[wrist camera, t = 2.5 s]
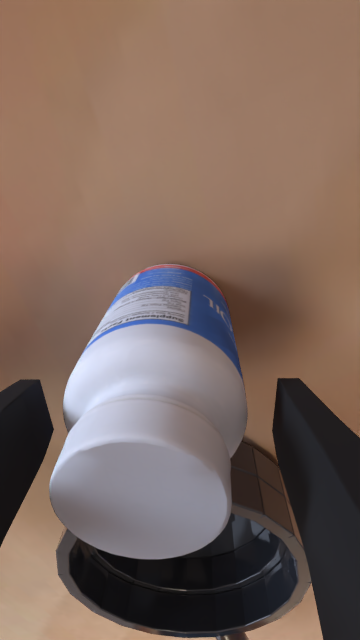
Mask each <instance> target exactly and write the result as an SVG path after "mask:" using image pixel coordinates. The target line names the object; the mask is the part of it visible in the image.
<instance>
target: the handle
mask: <svg viewBox="0 0 360 640" xmlns="http://www.w3.org/2000/svg"><path fill="white" fill-rule="evenodd" d="M216 639H217V640H249V639H248V638H247V636H246V634H245V632H241V633H236V634H231V635H226V636H219V637H216Z"/></svg>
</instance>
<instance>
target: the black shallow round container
mask: <svg viewBox="0 0 360 640" xmlns="http://www.w3.org/2000/svg"><path fill="white" fill-rule="evenodd" d="M230 461H231V472H230V476H231V495H232V507H231V514H230V517H229V520H228V523H227V525H226V526H225V528H224V530H223V531H222V532H221V533H220V535H218V536H217V537H216V538H215V539H214V540H213V541H212V542H211V543H209V544H207V545H206V546H204V547H203V548H201V549H199V550H197V551H194V552H191V553H188V554H185V555H182V556H178V557H173V558H166V559H136V558H129V557H124V556H119V555H115V554H111V553H109V552H106V551H103V550H100V549H97V548H96V547H94V546H92V545H90V544H88V543H86V542H84V541H83V540H81V539H80V538H78V537H77V536H75V535H74V534H73V533H72V532H71V531H69V530H68V529H67V528H66V527H64V529H63V532H62V535H61V538H60V541H59V543H58V546H57V549H56V558H57V568H58V575H59V577H60V579H61V580H62V582H63V583H64V585H65V586H66V588H67V589H68V591H69V593H70V594H71V595H72V596H74V597H75V598H76V599H77V600H79V601H80V602H81V603H82V604H84V605H85V606H86V607H87V608H89V609H90V610H91V611H93V612H94V613H96V614H98V615H100V616H103V617H105V618H107V619H109V620H111V621H113V622H115V623H117V624H119V625H121V626H125V627H129V628H132V629H136V630H139V631H143V632H147V633H150V634H156V635H165V636H174V637H182V638H186V637H187V638H196V637H219V636H226V635H231V634H236V633H241V632H246V631H251V630H254V629H256V628H259V627H261V626H264V625H266V624H268V623H271V622H273V621H276V620H278V619H280V618H281V617H283V616H284V615H285V614H286V613H288V612H289V611H290V610H291V609H293V608H294V607H295V606H297V605H298V604H299V603H300V602H301V601H302V599H303V597H304V595H305V593H306V592H307V590H308V588H309V586H310V584H311V577H310V572H309V567H308V563H307V559H306V555H305V551H304V547H303V544H302V540H301V537H300V534H299V531H298V527H297V524H296V521H295V517H294V514H293V511H292V508H291V504H290V501H289V498H288V495H287V491H286V488H285V485H284V481H283V478H282V475H281V471H280V469H279V467H278V466H277V465H276V464H275V463H273V462H272V461H271V460H269V459H268V458H267V457H265V456H264V455H263V454H261V453H260V452H259V451H258V450H256V449H255V448H254V447H251V446H250V445H248V444H245V443H242V442H241V443H240V444H239V446H238V448H237V450H236V451H235V453H234V454H233V456H232V457H231V458H230Z"/></svg>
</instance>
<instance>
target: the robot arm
mask: <svg viewBox="0 0 360 640" xmlns="http://www.w3.org/2000/svg"><path fill="white" fill-rule="evenodd" d="M53 430H54V428H53V425H52V421H51V418H50V414H49V411H48V407H47V404H46V400H45V397H44V393H43V390H42V386H41V383H40V380H19V381H17V382H16V383H14V384H12V385H11V386H9V387H8V388H6V389H5V390H3V391H2V392H0V547H1V544H2V542H3V540H4V538H5V536H6V534H7V532H8V530H9V528H10V526H11V524H12V522H13V520H14V518H15V516H16V514H17V512H18V510H19V508H20V506H21V504H22V502H23V500H24V498H25V496H26V494H27V492H28V490H29V488H30V486H31V484H32V482H33V480H34V478H35V476H36V474H37V472H38V470H39V468H40V466H41V464H42V462H43V459H44V457H45V454H46V451H47V448H48V446H49V443H50V440H51V436H52V433H53ZM272 432H273V438H274V443H275V449H276V455H277V460H278V465H279V468H280V471H281V475H282V478H283V481H284V485H285V488H286V491H287V495H288V498H289V501H290V504H291V508H292V511H293V514H294V517H295V521H296V524H297V527H298V531H299V534H300V537H301V540H302V544H303V547H304V551H305V555H306V559H307V563H308V567H309V572H310V577H311V581H312V586H313V591H314V595H315V600H316V605H317V610H318V615H319V620H320V625H321V630H322V635H323V640H360V438H359V437H358V436H357V435H356V434H355V433H354V432H352V431H351V430H350V429H349V428H348V427H347V426H346V425H345V424H344V423H343V422H342V421H341V420H340V419H339V418H338V417H337V416H336V415H335V414H334V413H333V412H332V411H331V410H330V409H329V408H328V407H327V406H326V405H325V404H324V403H323V402H322V401H321V400H320V399H319V398H318V397H317V396H316V395H315V394H314V393H313V392H312V391H311V390H310V389H309V388H308V387H307V386H306V385H305V384H304V383H303V382H302V381H301V380H300V379H299V378H278V381H277V391H276V400H275V410H274V419H273V429H272Z"/></svg>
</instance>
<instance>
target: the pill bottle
mask: <svg viewBox="0 0 360 640" xmlns="http://www.w3.org/2000/svg"><path fill="white" fill-rule="evenodd" d="M63 415H64V422H65V425H66V428H67V431H68V436H67V438H66V441H65V444H64V446H63V449H62V451H61V453H60V456H59V458H58V460H57V463H56V465H55V468H54V470H53V473H52V476H51V479H50V486H49V493H50V500H51V504H52V506H53V509H54V511H55V513H56V515H57V517H58V518H59V520H60V521H61V522H62V523H63V524H64V526H65V527H66V528H67V529H68V530H69V531H71V532H72V533H73V534H74V535H75V536H77V537H78V538H80V539H81V540H83V541H84V542H86V543H88V544H90V545H92V546H94V547H96V548H97V549H100V550H103V551H106V552H109V553H111V554H115V555H119V556H124V557H129V558H136V559H166V558H173V557H178V556H182V555H185V554H188V553H191V552H194V551H197V550H199V549H201V548H203V547H204V546H206V545H207V544H209V543H211V542H212V541H213V540H214V539H215V538H216V537H217V536H218V535H220V533H221V532H222V531H223V530H224V528H225V526H226V525H227V523H228V520H229V517H230V514H231V507H232V495H231V476H230V472H231V461H230V458H231V457H232V456H233V454H234V453H235V451H236V450H237V448H238V446H239V444H240V443H241V441H242V438H243V436H244V433H245V429H246V424H247V401H246V394H245V388H244V383H243V377H242V372H241V368H240V363H239V358H238V352H237V348H236V343H235V338H234V333H233V328H232V323H231V318H230V313H229V308H228V305H227V302H226V300H225V297H224V295H223V293H222V292H221V290H220V289H219V288H218V286H217V285H216V284H215V283H214V282H213V281H212V280H211V279H210V278H209V277H207V276H206V275H204V274H203V273H201V272H200V271H198V270H195V269H193V268H190V267H187V266H183V265H177V264H162V265H156V266H152V267H149V268H146V269H144V270H142V271H140V272H138V273H137V274H135V275H134V276H133V277H131V278H130V279H129V280H128V281H127V282H126V283H125V284H124V286H123V287H122V288H121V289H120V291H119V292H118V294H117V296H116V297H115V299H114V300H113V302H112V304H111V306H110V307H109V309H108V311H107V313H106V314H105V316H104V317H103V319H102V321H101V322H100V324H99V326H98V327H97V329H96V331H95V332H94V334H93V336H92V338H91V340H90V341H89V343H88V345H87V346H86V348H85V350H84V351H83V353H82V355H81V357H80V359H79V360H78V362H77V364H76V366H75V368H74V370H73V371H72V373H71V375H70V378H69V380H68V383H67V386H66V390H65V394H64V400H63Z"/></svg>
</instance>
